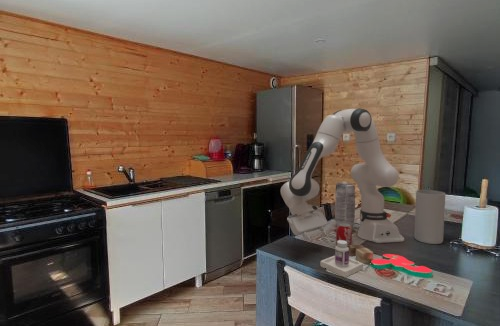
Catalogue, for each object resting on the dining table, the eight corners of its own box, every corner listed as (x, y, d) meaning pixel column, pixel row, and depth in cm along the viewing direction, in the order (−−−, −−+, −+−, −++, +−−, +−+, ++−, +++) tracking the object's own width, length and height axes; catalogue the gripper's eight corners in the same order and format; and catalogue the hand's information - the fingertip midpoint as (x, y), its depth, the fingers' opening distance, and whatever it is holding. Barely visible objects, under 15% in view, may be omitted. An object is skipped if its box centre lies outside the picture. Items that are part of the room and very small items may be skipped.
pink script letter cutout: (368, 267, 116) (368, 262, 116) (386, 256, 126) (386, 251, 126) (421, 287, 101) (421, 280, 101) (437, 272, 111) (437, 267, 111)
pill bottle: (345, 261, 118) (346, 239, 117) (350, 267, 113) (351, 244, 112) (333, 261, 118) (333, 239, 117) (337, 267, 113) (338, 244, 112)
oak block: (365, 258, 124) (366, 247, 123) (372, 263, 119) (373, 252, 118) (355, 259, 123) (355, 248, 122) (362, 264, 118) (362, 253, 117)
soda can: (341, 252, 131) (341, 227, 130) (333, 246, 137) (333, 222, 136) (354, 250, 132) (355, 225, 131) (345, 245, 139) (346, 221, 138)
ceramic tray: (338, 258, 124) (338, 253, 124) (363, 268, 114) (363, 263, 114) (320, 266, 117) (320, 261, 117) (345, 277, 107) (345, 272, 107)
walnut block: (362, 253, 129) (362, 245, 129) (364, 257, 125) (364, 248, 125) (348, 253, 130) (349, 244, 130) (350, 256, 126) (350, 247, 126)
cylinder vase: (414, 242, 142) (416, 193, 140) (413, 234, 153) (415, 189, 151) (444, 246, 136) (447, 195, 134) (441, 238, 147) (443, 191, 145)
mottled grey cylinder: (355, 229, 162) (356, 183, 159) (335, 228, 164) (336, 183, 161) (352, 225, 170) (353, 181, 168) (334, 224, 172) (335, 180, 170)
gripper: (289, 212, 123) (305, 240, 116) (320, 205, 135) (336, 230, 129) (282, 220, 127) (297, 247, 120) (312, 212, 139) (328, 237, 132)
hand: (318, 239), depth 125 cm, fingers open, 8 cm apart
